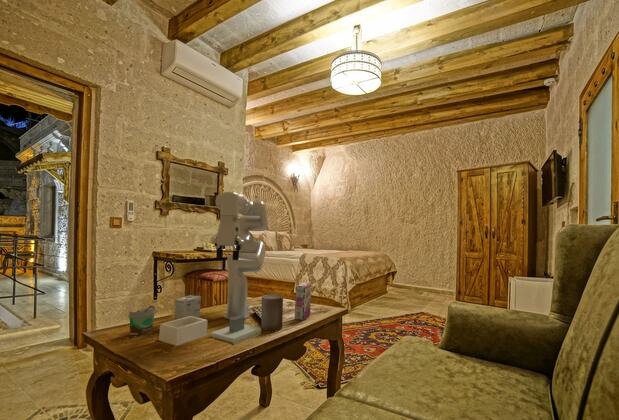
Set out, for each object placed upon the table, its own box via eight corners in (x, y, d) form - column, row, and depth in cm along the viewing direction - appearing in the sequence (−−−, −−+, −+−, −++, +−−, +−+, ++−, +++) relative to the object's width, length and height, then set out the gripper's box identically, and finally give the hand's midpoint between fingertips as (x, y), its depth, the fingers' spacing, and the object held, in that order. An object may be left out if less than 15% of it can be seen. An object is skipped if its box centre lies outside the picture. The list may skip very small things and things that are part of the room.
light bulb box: (188, 317, 154) (190, 294, 155) (200, 318, 152) (201, 295, 153) (173, 323, 144) (174, 299, 145) (185, 324, 142) (186, 300, 143)
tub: (189, 333, 131) (190, 315, 131) (206, 337, 126) (207, 319, 126) (158, 343, 119) (160, 324, 119) (176, 348, 114) (177, 328, 114)
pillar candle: (286, 326, 144) (287, 292, 145) (274, 331, 135) (275, 296, 136) (268, 323, 148) (269, 290, 150) (256, 328, 140) (257, 294, 141)
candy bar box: (303, 320, 153) (304, 286, 154) (294, 319, 155) (295, 285, 156) (310, 315, 164) (311, 283, 165) (301, 314, 165) (302, 282, 166)
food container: (140, 339, 122) (142, 313, 122) (127, 338, 123) (128, 312, 124) (161, 330, 134) (163, 306, 134) (149, 328, 135) (150, 305, 136)
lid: (239, 328, 139) (239, 311, 139) (260, 333, 132) (261, 315, 133) (210, 339, 125) (211, 319, 125) (233, 345, 118) (234, 325, 119)
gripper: (249, 220, 138) (248, 260, 137) (221, 220, 147) (219, 257, 146) (237, 219, 132) (236, 261, 130) (208, 219, 140) (206, 258, 139)
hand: (227, 259), depth 138 cm, fingers open, 9 cm apart
